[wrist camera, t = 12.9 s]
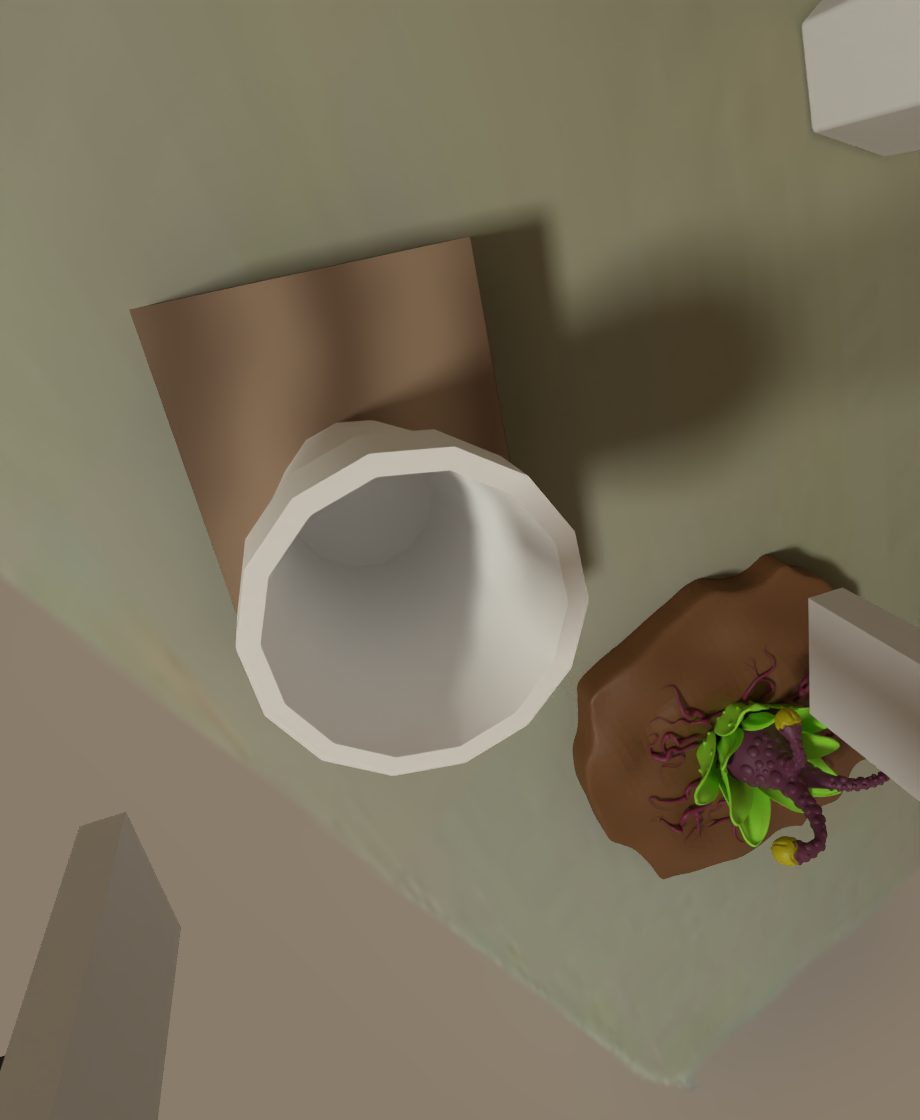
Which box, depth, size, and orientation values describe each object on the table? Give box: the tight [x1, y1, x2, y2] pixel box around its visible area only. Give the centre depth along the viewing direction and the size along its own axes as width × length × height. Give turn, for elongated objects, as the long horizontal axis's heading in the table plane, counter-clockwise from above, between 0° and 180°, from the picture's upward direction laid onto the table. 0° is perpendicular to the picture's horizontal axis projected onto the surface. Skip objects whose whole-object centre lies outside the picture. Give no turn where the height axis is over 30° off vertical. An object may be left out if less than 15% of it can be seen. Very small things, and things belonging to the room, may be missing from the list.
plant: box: [573, 554, 890, 879], centre depth 43 cm, size 20×20×11 cm
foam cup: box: [236, 420, 589, 776], centre depth 26 cm, size 10×9×13 cm
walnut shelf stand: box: [130, 237, 510, 614], centre depth 34 cm, size 13×18×5 cm
